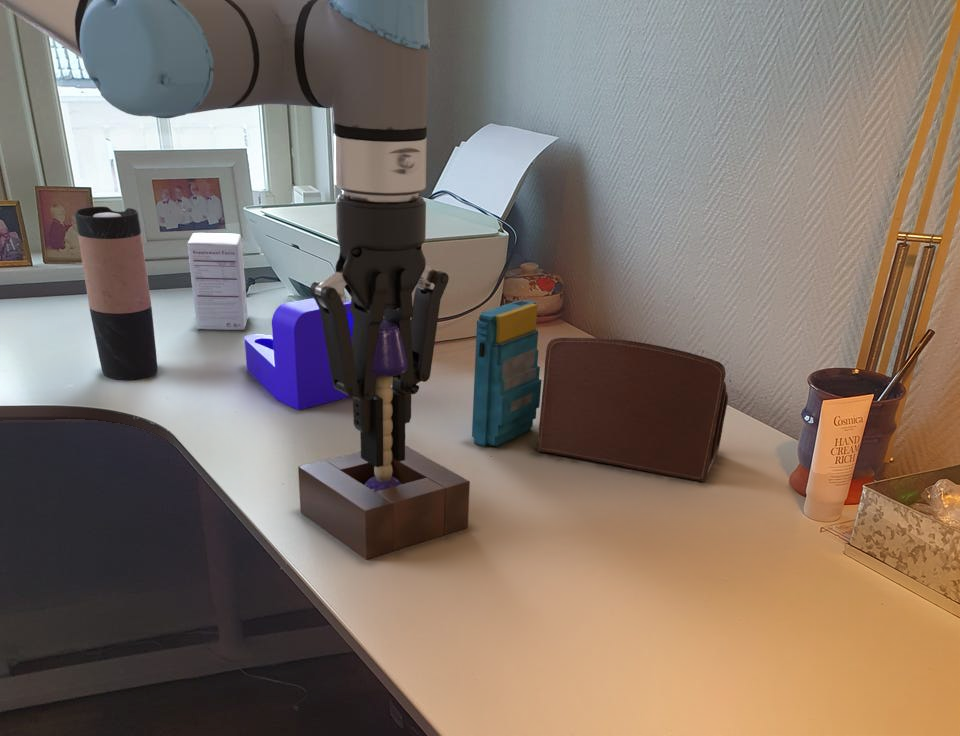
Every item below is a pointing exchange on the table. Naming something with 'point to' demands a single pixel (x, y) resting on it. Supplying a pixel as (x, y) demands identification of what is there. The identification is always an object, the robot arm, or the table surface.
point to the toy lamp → (387, 396)
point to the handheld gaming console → (505, 373)
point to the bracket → (295, 356)
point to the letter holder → (632, 406)
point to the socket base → (383, 502)
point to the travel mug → (118, 291)
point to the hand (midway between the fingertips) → (383, 458)
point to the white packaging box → (218, 281)
